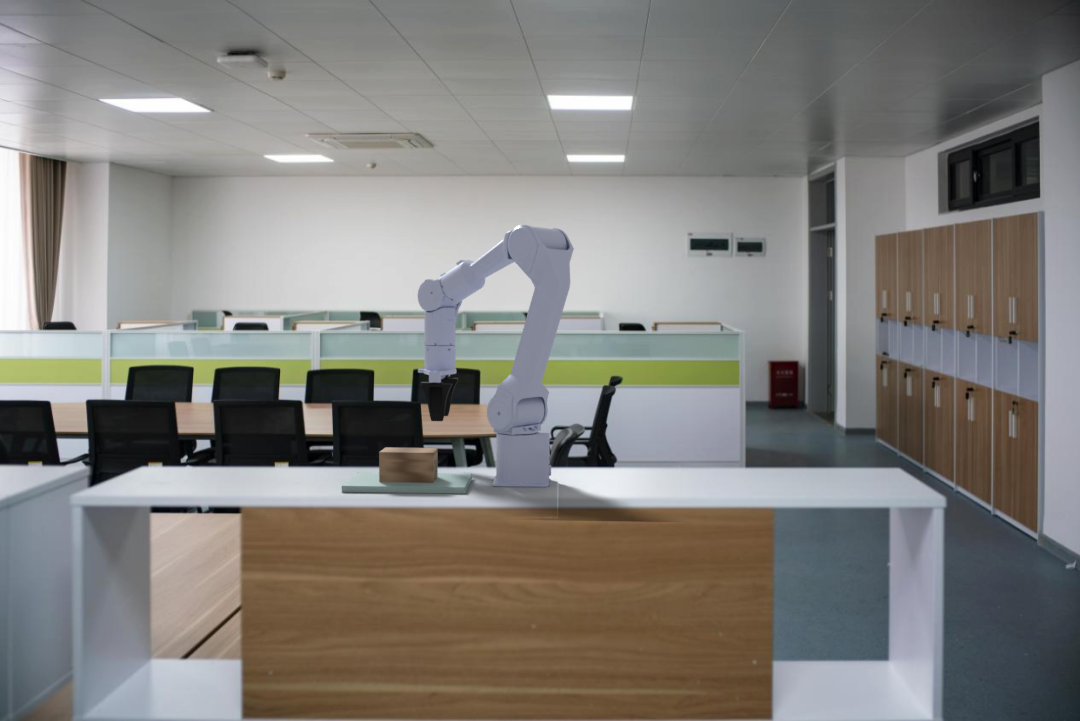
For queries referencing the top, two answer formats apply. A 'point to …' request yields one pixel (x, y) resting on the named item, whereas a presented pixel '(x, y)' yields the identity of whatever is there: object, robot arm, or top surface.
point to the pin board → (408, 484)
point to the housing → (408, 465)
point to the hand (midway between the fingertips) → (439, 418)
